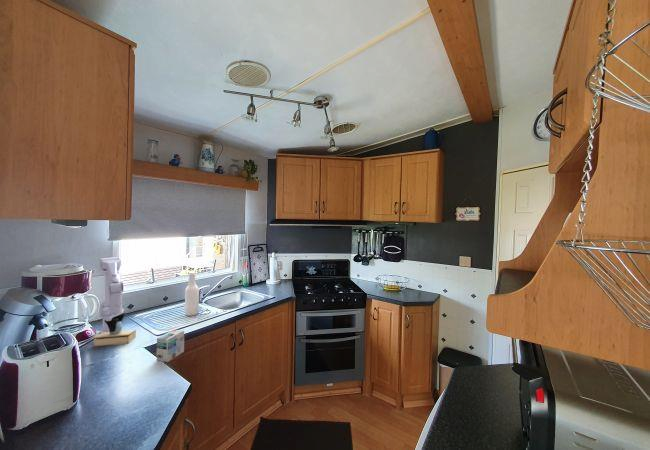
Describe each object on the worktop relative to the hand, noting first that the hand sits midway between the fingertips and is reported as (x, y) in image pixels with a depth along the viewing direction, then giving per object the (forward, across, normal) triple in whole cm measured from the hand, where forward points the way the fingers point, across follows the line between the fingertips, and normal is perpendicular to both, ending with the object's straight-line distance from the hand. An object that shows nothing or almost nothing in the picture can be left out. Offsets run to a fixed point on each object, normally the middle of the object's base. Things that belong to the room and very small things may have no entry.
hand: (115, 329), depth 139 cm
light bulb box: (+7, +25, +34) cm, 42 cm away
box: (+7, 0, 0) cm, 7 cm away
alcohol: (+7, -36, +31) cm, 48 cm away
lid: (+3, 0, 0) cm, 3 cm away
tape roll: (+1, 0, 0) cm, 1 cm away
